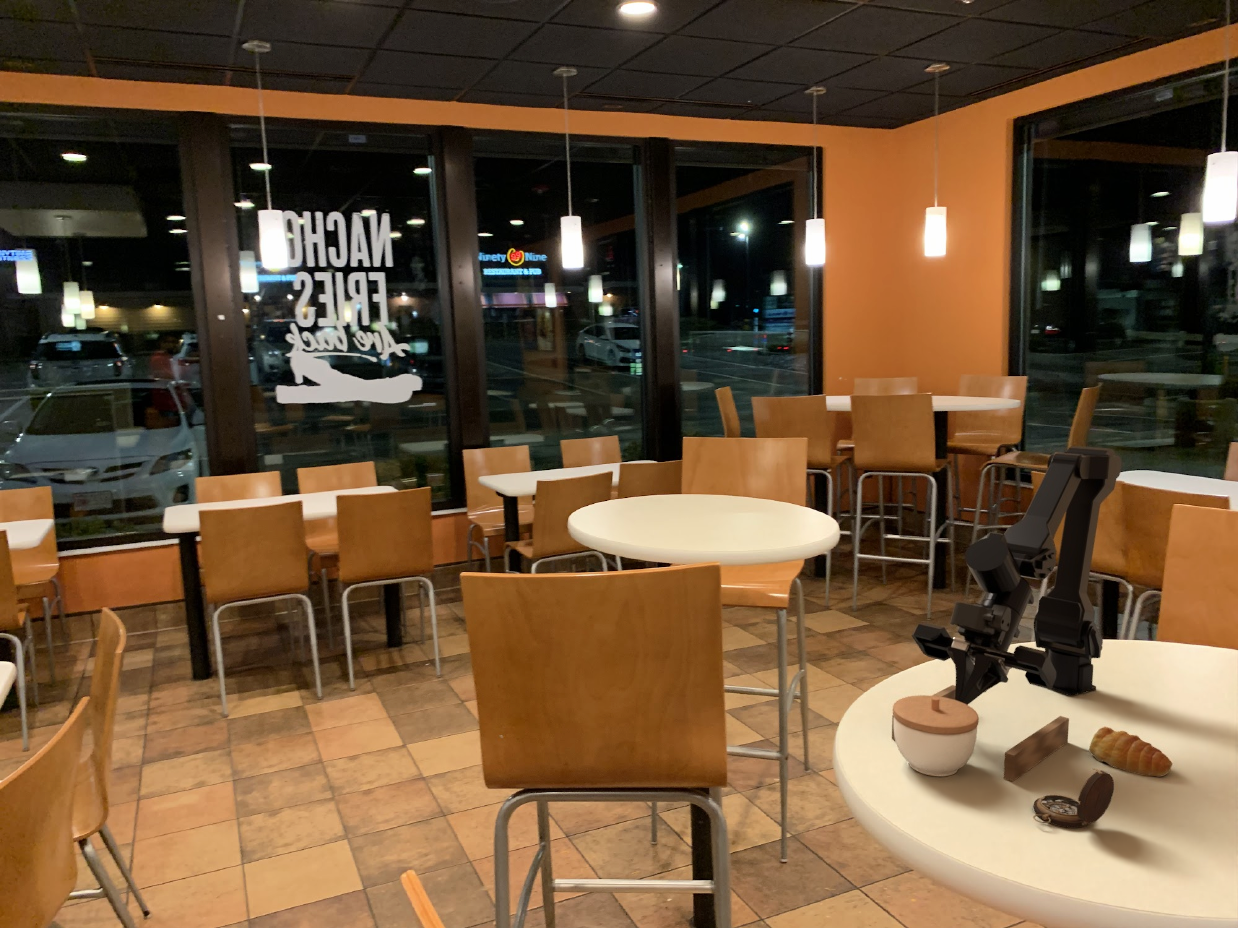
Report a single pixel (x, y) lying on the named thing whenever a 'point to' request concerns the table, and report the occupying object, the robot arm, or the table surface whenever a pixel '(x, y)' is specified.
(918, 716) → the lidded jar
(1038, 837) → the table surface
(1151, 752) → the pastry
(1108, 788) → the compass
